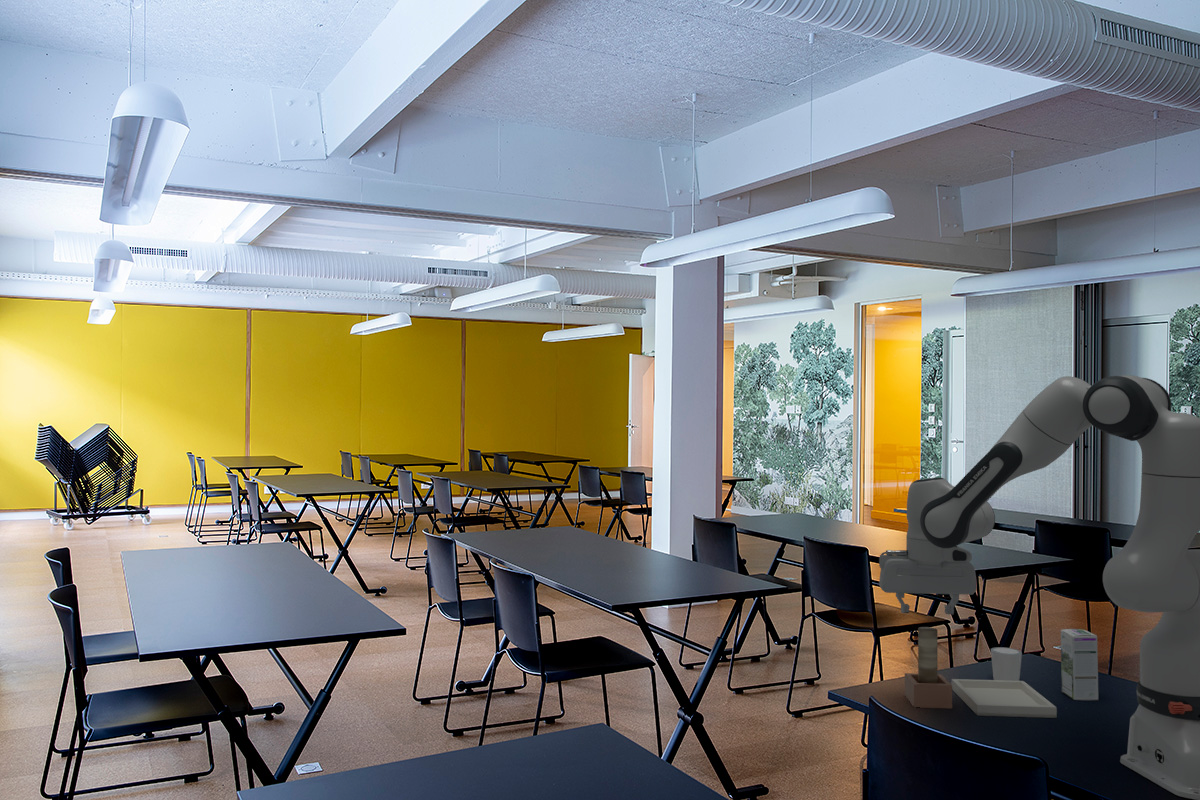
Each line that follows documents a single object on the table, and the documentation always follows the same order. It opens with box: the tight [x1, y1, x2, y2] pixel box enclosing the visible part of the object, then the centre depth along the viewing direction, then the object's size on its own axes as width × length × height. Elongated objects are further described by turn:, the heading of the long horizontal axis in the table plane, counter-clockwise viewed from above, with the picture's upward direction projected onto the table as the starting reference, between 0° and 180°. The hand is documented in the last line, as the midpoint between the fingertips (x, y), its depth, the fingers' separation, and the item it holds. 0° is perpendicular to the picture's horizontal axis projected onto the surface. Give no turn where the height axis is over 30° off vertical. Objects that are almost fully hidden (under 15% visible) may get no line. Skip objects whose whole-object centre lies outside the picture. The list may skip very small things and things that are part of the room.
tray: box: [951, 678, 1058, 719], centre depth 196 cm, size 18×16×2 cm
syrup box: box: [1060, 628, 1099, 701], centre depth 201 cm, size 6×6×14 cm
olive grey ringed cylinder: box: [917, 626, 939, 684], centre depth 197 cm, size 4×4×16 cm
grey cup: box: [990, 646, 1023, 681], centre depth 213 cm, size 7×7×7 cm
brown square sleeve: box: [904, 672, 953, 710], centre depth 197 cm, size 8×8×5 cm
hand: (927, 613), depth 197 cm, fingers open, 8 cm apart
